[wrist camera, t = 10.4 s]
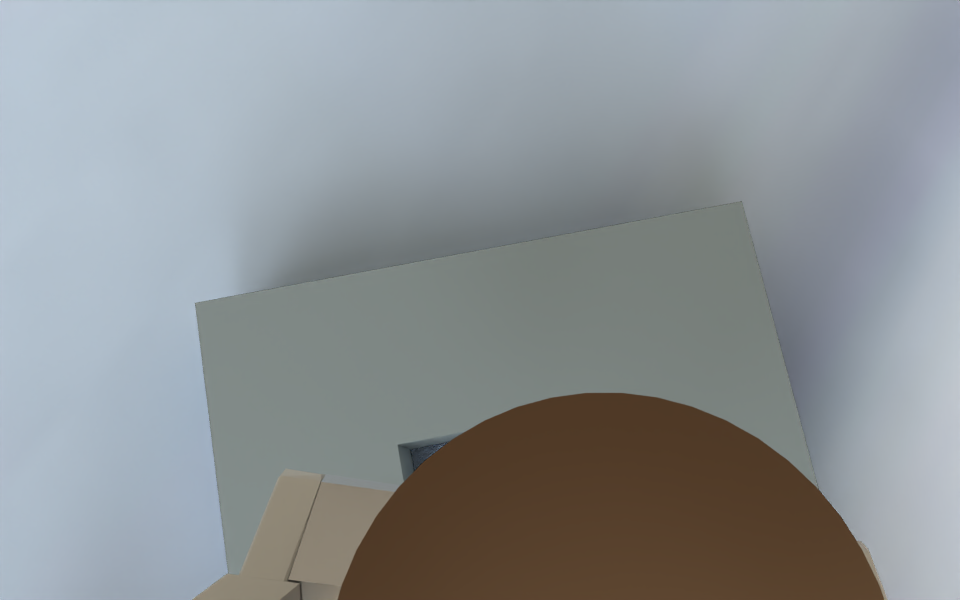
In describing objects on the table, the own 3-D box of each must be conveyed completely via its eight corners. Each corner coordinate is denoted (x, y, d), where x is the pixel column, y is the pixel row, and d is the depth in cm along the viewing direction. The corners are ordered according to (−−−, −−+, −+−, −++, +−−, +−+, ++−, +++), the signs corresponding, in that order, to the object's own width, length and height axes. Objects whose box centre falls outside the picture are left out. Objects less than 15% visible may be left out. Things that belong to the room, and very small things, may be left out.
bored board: (836, 747, 25) (900, 796, 21) (305, 857, 25) (271, 928, 21) (706, 239, 28) (741, 201, 25) (235, 327, 28) (195, 303, 24)
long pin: (651, 628, 16) (980, 938, 6) (448, 670, 16) (377, 1077, 5) (605, 423, 17) (814, 344, 6) (410, 462, 17) (282, 452, 6)
